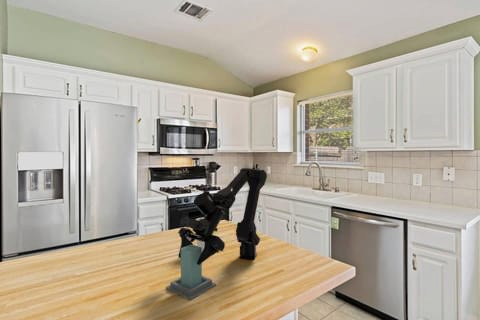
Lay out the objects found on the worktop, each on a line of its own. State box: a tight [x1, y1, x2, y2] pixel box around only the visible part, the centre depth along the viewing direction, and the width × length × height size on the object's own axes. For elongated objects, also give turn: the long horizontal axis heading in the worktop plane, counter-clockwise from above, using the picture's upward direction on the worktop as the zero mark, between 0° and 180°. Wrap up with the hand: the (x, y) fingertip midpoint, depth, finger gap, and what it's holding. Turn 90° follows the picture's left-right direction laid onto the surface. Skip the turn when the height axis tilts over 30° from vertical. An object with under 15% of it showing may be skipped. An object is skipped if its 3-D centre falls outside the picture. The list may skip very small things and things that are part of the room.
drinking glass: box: [195, 217, 205, 251], centre depth 125 cm, size 7×7×15 cm
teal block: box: [180, 244, 203, 289], centre depth 92 cm, size 5×5×13 cm
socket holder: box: [165, 275, 217, 301], centre depth 92 cm, size 12×12×2 cm
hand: (188, 260), depth 91 cm, fingers open, 9 cm apart
